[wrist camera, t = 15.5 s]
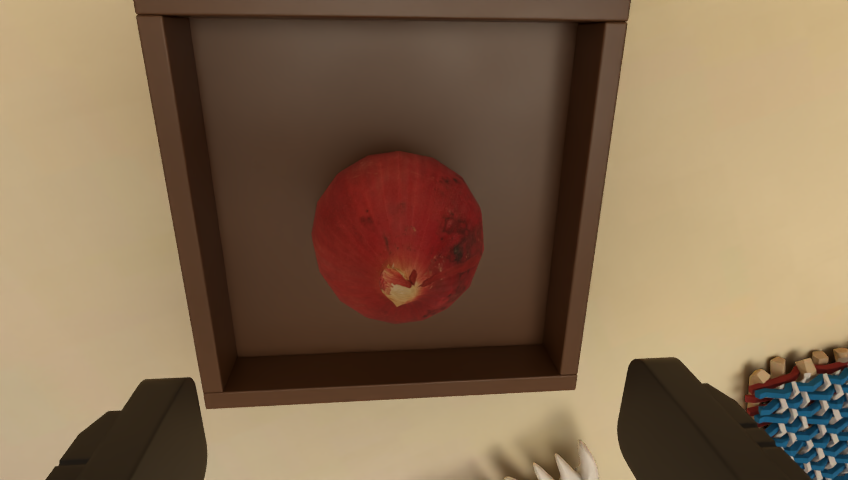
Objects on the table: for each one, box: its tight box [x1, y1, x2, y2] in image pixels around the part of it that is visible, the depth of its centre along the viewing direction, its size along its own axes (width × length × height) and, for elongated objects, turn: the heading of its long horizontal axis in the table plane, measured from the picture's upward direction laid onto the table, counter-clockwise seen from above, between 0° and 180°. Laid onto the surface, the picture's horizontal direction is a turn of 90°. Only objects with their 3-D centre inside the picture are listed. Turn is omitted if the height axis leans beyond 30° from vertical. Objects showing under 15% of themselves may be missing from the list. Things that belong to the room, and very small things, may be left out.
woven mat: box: [745, 348, 848, 480], centre depth 28 cm, size 10×11×2 cm
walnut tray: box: [133, 0, 631, 409], centre depth 20 cm, size 16×16×3 cm
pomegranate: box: [311, 151, 484, 324], centre depth 18 cm, size 6×6×8 cm
